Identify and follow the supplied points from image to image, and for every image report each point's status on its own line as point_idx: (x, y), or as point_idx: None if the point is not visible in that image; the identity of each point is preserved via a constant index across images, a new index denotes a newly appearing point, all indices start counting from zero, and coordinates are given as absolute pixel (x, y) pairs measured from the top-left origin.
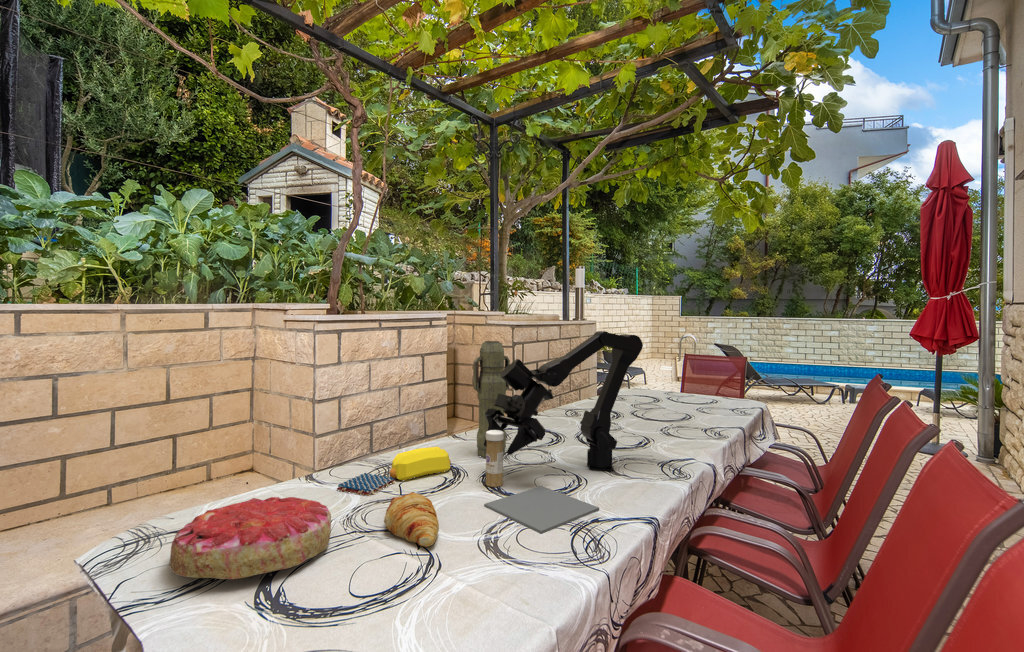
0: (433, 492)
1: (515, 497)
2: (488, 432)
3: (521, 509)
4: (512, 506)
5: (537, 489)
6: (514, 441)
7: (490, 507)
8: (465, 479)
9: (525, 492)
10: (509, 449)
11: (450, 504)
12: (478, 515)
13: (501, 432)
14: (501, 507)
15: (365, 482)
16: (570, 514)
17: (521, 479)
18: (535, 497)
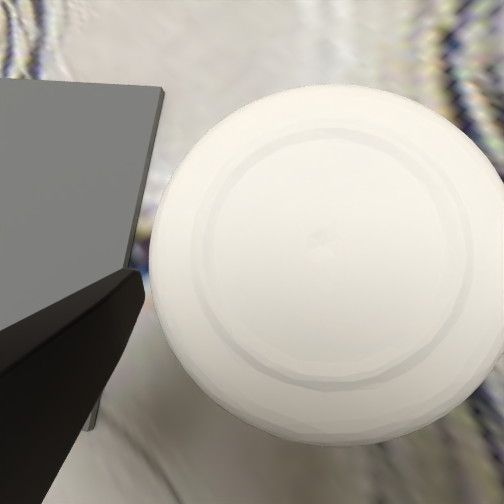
0: (441, 38)
1: (102, 220)
2: (371, 106)
3: (18, 145)
4: (59, 142)
5: None
6: (6, 337)
7: (125, 86)
8: None
9: None
10: (100, 282)
11: (276, 16)
12: (127, 29)
13: (179, 291)
14: (86, 107)
15: None
16: None
17: (251, 474)
18: (34, 279)
